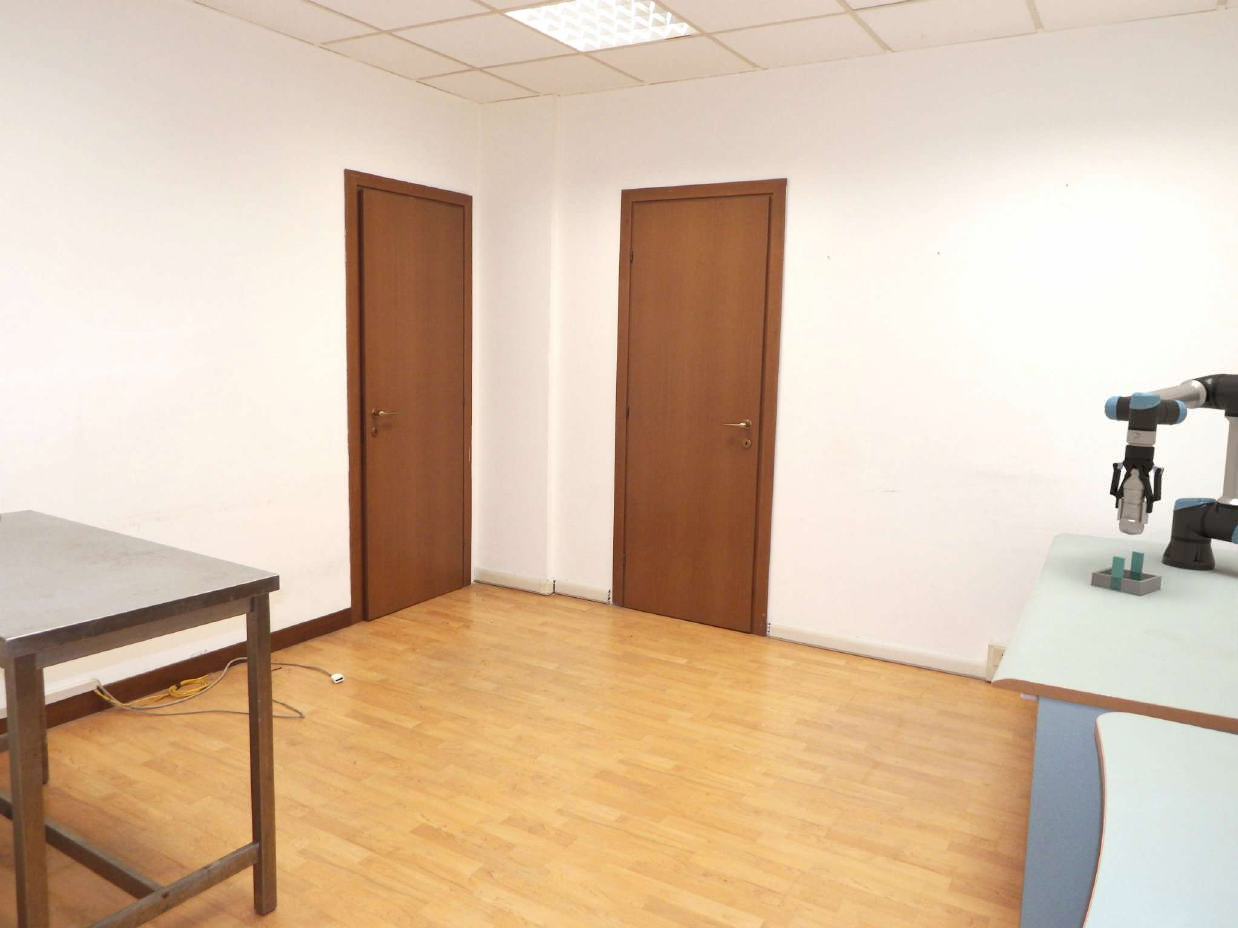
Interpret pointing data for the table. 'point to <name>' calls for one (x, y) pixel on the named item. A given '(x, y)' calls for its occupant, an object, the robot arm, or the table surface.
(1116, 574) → the tray
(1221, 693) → the table surface
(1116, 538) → the table surface
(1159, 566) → the table surface
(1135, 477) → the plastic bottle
